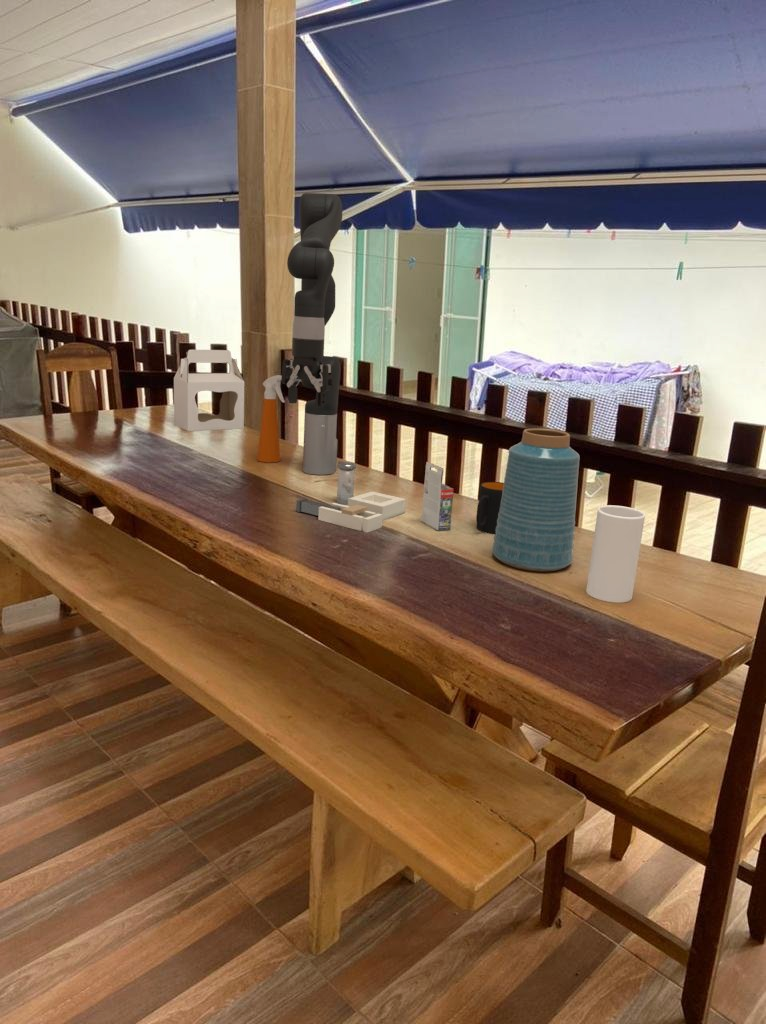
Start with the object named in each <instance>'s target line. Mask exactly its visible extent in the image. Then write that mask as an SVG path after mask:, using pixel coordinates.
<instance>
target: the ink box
mask: <svg viewBox="0 0 766 1024" xmlns="http://www.w3.org/2000/svg"><path fill="white" fill-rule="evenodd" d="M432 468H434V469H435V470H437V471H435V470H432ZM424 470H425V471H424V472H425V473H424V474H425V475H424V483H423V484H424V485H423V496H422V497H423V498H422V510H421V511H422V513H421V522H422V523H423V524H425V525H427V526H428V527H430V528H433V529H434V530H436V531H439V532H440V531H442V532H443V531H450V530H451V527H452V526H451V524H452V513H453V500H454V488H453V487H452V486H451V487H450V486H448V485H446V484H444V483H443V478H444V477H443V476H444V467H442V466H439V465H436V464H434V463H431V462H430V461H426V464H425V469H424Z"/></svg>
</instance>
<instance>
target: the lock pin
mask: <svg viewBox="0 0 766 1024" xmlns="http://www.w3.org/2000/svg"><path fill="white" fill-rule="evenodd" d="M295 505H296V509H295V511H296V512H297V513H301V512H302V513H305V514H310V515H313V516H319V507H321V506H323V507H327V508H331V509H335V510H339V511H340V508H339V507H335V506H331V504H326V503H321V502H319V501H315V500H311V499H310V500H309V498H306V497H303V498H300V499H296V504H295Z"/></svg>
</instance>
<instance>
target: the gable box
mask: <svg viewBox="0 0 766 1024" xmlns="http://www.w3.org/2000/svg"><path fill="white" fill-rule="evenodd" d="M185 353H186V357H184V358H180V363H179V367H178V369H177V370H176V373H175V375H174V377H173V424H174V426H175V427H178V428H180V429H182V430H184V431H186V432H200V431H201V432H202V431H224V430H244V429H245V425H244V424H245V380H244V378H243V376H242V373H241V372H240V369H239V367H238V358H233V357H232V353H231V351H230V350H229V349H188V350H187V351H186V352H185ZM193 363H195V364H199V363H201V364H202V363H203V364H208V363H211V364H217V363H218V364H219V363H221V364H228V366H229V367H228V368H229V369H228V370H229V373H227V372H226V373H216V372H215V373H189V365H190V364H193ZM205 391H206V392H214V393H222V395H221V398H220V400H219V413H218V414H211V413H205V412H202V413H201V412H200V413H199V407H198V405H197V403H196V395H197V393H200V392H205Z"/></svg>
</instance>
